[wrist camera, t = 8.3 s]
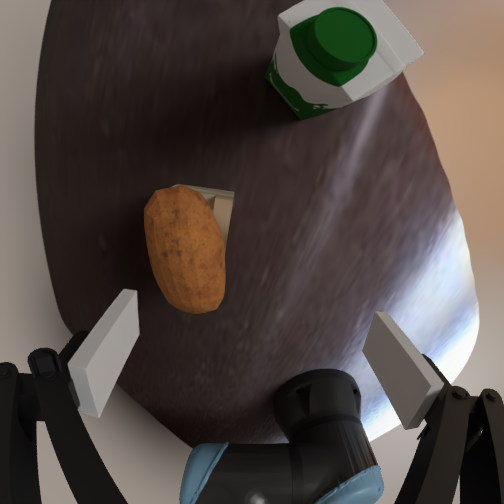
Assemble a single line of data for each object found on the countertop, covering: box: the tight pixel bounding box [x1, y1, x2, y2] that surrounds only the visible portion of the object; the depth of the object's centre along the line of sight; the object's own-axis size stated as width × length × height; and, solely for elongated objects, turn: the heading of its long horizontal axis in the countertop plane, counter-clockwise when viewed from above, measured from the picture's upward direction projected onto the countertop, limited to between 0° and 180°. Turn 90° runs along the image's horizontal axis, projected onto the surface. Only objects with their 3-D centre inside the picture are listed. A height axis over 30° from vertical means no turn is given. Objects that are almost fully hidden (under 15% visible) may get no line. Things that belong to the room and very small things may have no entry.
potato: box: [144, 185, 226, 314], centre depth 28 cm, size 7×13×7 cm, turn 5°
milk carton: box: [264, 0, 424, 120], centre depth 22 cm, size 9×9×20 cm
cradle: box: [172, 184, 234, 249], centre depth 34 cm, size 10×7×6 cm
